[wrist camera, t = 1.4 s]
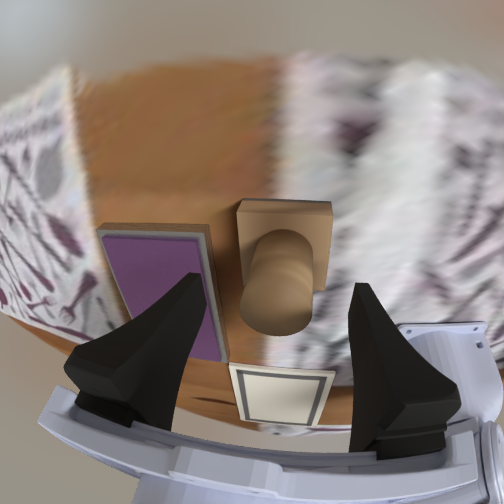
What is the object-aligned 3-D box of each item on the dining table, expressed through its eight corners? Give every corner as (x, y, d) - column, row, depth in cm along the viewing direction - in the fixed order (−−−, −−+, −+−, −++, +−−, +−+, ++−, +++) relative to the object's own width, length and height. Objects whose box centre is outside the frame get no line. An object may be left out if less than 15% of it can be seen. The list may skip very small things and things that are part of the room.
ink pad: (208, 224, 18) (202, 235, 17) (230, 354, 25) (227, 365, 24) (103, 222, 19) (94, 231, 18) (149, 341, 27) (144, 350, 26)
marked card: (335, 370, 24) (335, 375, 24) (316, 424, 32) (316, 427, 32) (229, 362, 26) (228, 366, 26) (241, 417, 34) (240, 420, 34)
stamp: (330, 200, 16) (340, 270, 11) (323, 271, 19) (325, 350, 13) (243, 197, 17) (211, 262, 11) (248, 267, 19) (225, 342, 14)
